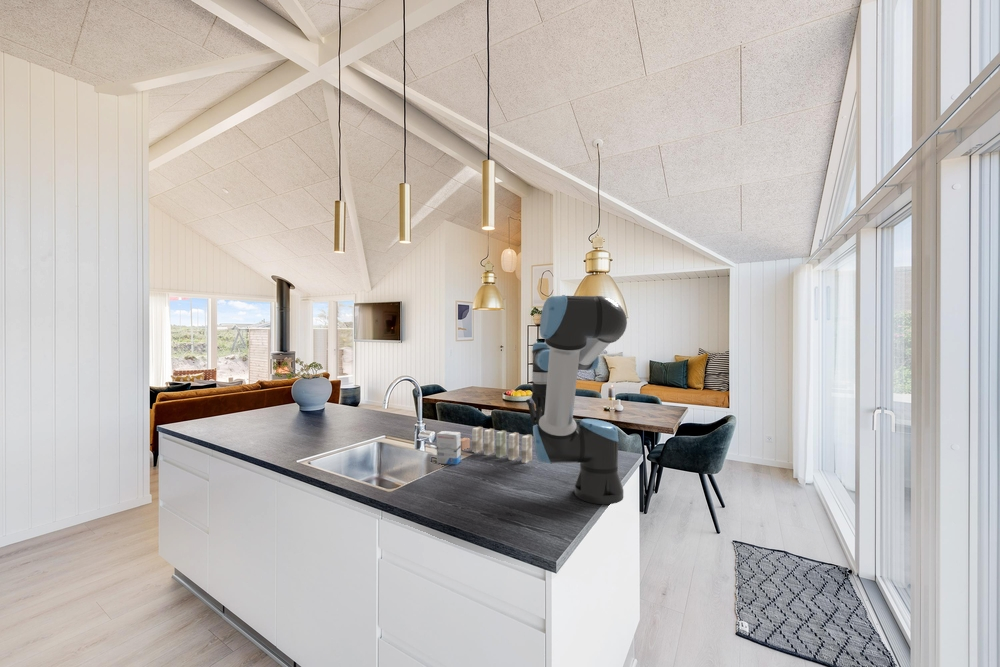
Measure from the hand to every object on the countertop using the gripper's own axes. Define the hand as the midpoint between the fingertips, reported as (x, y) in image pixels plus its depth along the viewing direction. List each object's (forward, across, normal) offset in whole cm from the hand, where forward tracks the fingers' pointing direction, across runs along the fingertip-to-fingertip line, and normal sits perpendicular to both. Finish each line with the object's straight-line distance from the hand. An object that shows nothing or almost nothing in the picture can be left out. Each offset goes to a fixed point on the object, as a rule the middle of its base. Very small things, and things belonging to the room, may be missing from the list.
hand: (541, 443), depth 160 cm
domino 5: (+8, +6, 0) cm, 10 cm away
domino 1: (+8, +30, 0) cm, 31 cm away
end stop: (+8, +38, 0) cm, 39 cm away
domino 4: (+8, +12, 0) cm, 15 cm away
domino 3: (+8, +18, 0) cm, 20 cm away
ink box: (+8, +31, +18) cm, 37 cm away
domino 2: (+8, +24, 0) cm, 26 cm away
